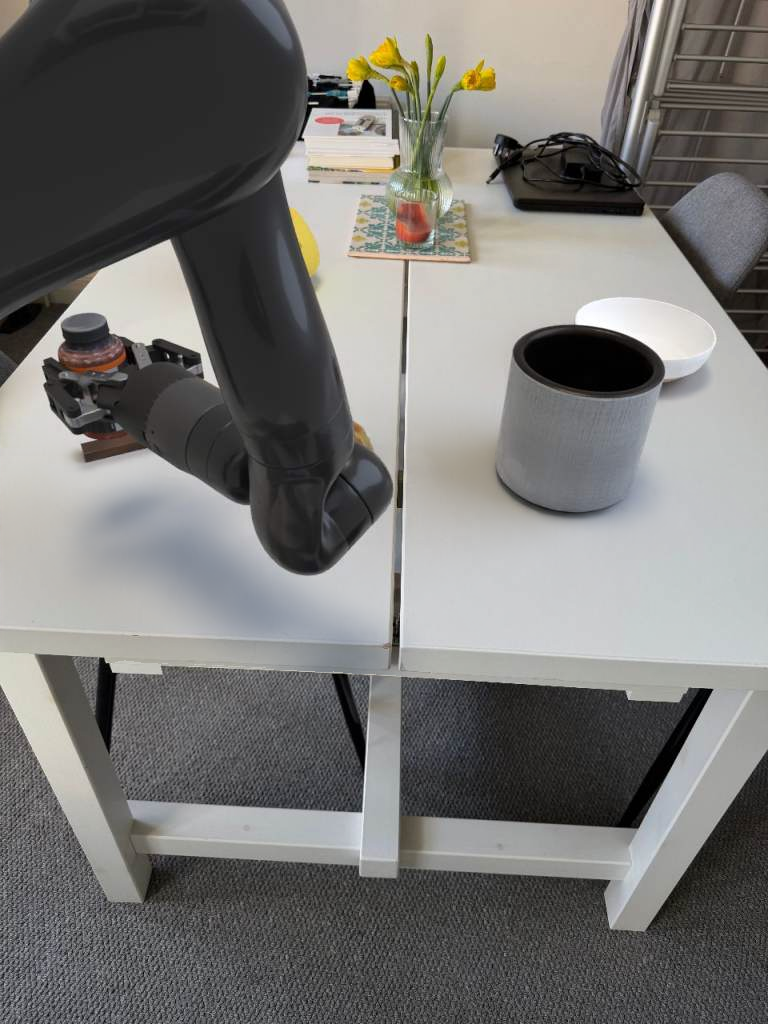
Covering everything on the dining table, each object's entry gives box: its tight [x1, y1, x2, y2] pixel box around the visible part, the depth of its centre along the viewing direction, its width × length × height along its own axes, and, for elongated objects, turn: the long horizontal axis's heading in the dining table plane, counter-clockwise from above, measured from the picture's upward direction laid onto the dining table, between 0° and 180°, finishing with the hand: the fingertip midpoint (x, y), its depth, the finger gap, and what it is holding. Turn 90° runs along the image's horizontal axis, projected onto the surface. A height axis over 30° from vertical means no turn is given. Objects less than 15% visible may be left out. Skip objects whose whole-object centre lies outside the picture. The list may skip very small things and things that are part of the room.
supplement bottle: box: [57, 312, 128, 440], centre depth 70 cm, size 6×6×11 cm
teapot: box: [289, 206, 321, 278], centre depth 120 cm, size 20×16×14 cm
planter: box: [495, 324, 665, 513], centre depth 81 cm, size 16×16×16 cm
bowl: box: [573, 296, 717, 383], centre depth 105 cm, size 20×20×6 cm
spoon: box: [80, 435, 146, 463], centre depth 91 cm, size 23×6×1 cm, turn 117°
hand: (80, 355), depth 70 cm, fingers closed on supplement bottle, 6 cm apart
